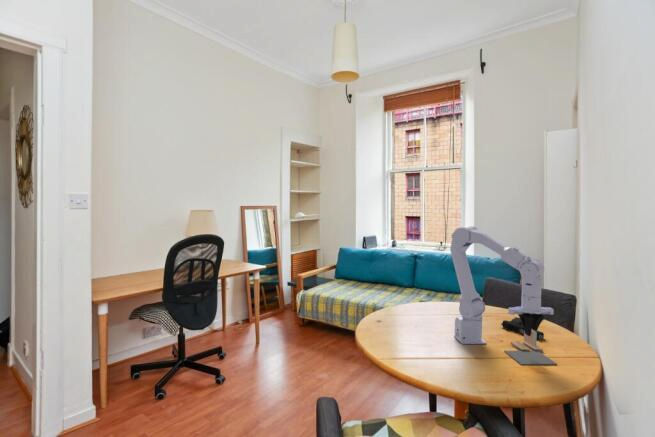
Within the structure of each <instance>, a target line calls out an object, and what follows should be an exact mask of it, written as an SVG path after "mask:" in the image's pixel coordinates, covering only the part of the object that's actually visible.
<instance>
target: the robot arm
mask: <svg viewBox="0 0 655 437" xmlns="http://www.w3.org/2000/svg"><path fill="white" fill-rule="evenodd" d="M473 244H481V245H482V246H483V247H486V248H488V249H489V250H491V251H493V252H495V253H497V254H498V255H499V256H500V259H501V260H502V261H503V262H504V263H506V264H507V265H508V266H510V267H512V268H513V269H516V270H517V271H519V273H520V275H521V277H522V278H521V298H520V300H521V301H520V302H521V304H520V306H513V307H508V309H507V310H508V312H507V313H508V314H509V315H511V316H515V315H517V317H518V318H520V319H521V321H522V324H523V327H524V331H525V334H526V335H528V336H530V335H531V329H533V330H535V331H536V332H537V331H539V327H540V325H541V324H542V322H543V321H544V320H545V316H544V315H552V316H553V315H554V311H555V310H554V308H552V307H548V306H545V307H544V306H542V286H543V285H542V274H544V272H545V266H544V264H543V263H542V262H541V261H540V260H539V259H537V258H536V259H535V258H533V257H532V256H531V255H528V256H527V255H526V254H524V253H522V252H521V251H519V250H520V249H519V248H517V247H513V246H510V247H506V246H505V245H503V244H502V243H501V242H498V241H497V240H496V239H494V238H493V237H492V236H490V235H488V234H487V233H485V232H484V231H483V230H482V229H480V228H479V229H478V228H477V227H475V226H472V225H471V226H466V227H463V226H460V227H457V228H456V229H455V230H454V231H453V233H451V244H450V249H449V250H450V253H451V254H450V255H451V259H452V262H453V267H454V270H455V274H456V278H457V282H458V285H459V291H460V296H459V299H458V302H459V306H458V310H459V314H460V315H461V316H457V317H456V318H454V334H453V337H454V338H455V339H456V340H457V341H458V342H460V344H462V345H472V344H473V345H477V344H478V345H480V344H484V345H486V344H487V342H486V341H485V340H484V339H483V314H484V313H485V311H486V305H485V302H484V301H483V299H482V298H481V295H480V293H478V292H477V290H476V287H475V284H474V283H475V282H474V280H473V275H472V272H471V268H470V264H469V260H468V256H467V250H468V249H469V248H470V246H471V245H473Z"/></svg>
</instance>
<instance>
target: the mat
mask: <svg viewBox="0 0 655 437" xmlns="http://www.w3.org/2000/svg"><path fill="white" fill-rule="evenodd" d="M503 352H504V353H505V354H506V355H508V356H509V357H510V358H512V359H513V360H514V361H515V362H517V363H518V364H520V365H521V366H557V365H558V363H557V362H555V361H554V360H552V359H550V357H548V356H546V355H545V354H543V352H539V351H534V350H531V349H530V351H520V350H504V351H503Z"/></svg>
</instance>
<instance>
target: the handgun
mask: <svg viewBox="0 0 655 437" xmlns="http://www.w3.org/2000/svg"><path fill="white" fill-rule="evenodd" d="M501 326H502V328H503V329H505V330H509V331H511V332H514V333H520V334H522V335H524V327H523V324H522V321H521V319H520V317H519V316H517V317H514V318H512V319H511V320H505V319H504V320H503V321H502V322H501ZM544 338H545V334H544V332H543V331H540V330H537V340H539V341H541V340H543V339H544Z"/></svg>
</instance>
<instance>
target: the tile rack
mask: <svg viewBox="0 0 655 437" xmlns="http://www.w3.org/2000/svg"><path fill="white" fill-rule="evenodd" d="M510 345H511V346H513V347H514V348H515V349H516V350H517V351H530V350H534V351H539V352H540V353H543V352H544V349H543V348H542V347H540V346H539V345H537V344H536V347H533V346H531V345H530V344H528V343H527V342H526V341H524V340H523V341H522V342H520V341H519V340H518V341H516V340H515V341H510Z"/></svg>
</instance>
